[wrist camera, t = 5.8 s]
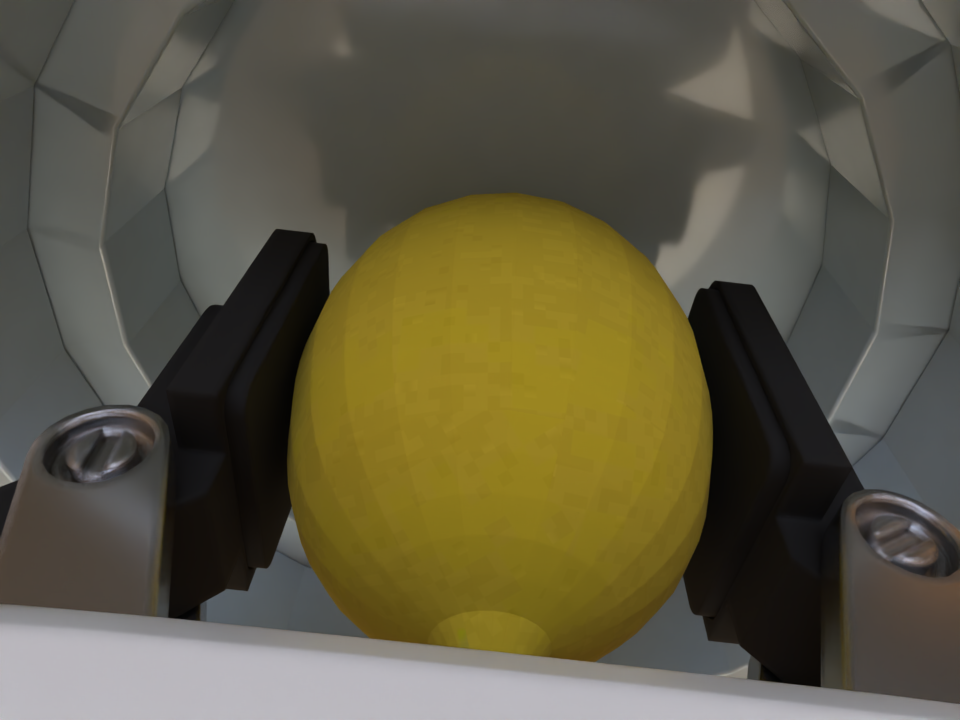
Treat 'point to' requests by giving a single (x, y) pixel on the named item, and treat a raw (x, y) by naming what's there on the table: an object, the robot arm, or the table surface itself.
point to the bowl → (488, 170)
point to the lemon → (501, 433)
